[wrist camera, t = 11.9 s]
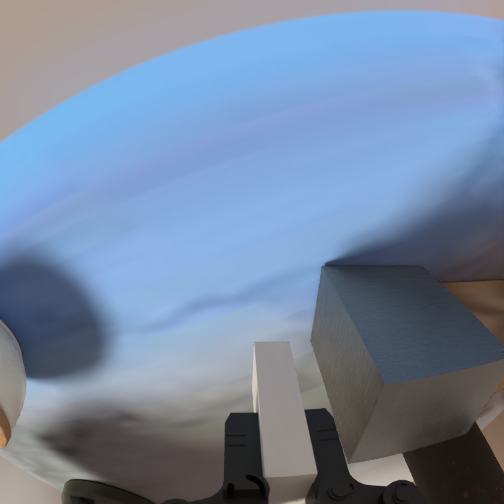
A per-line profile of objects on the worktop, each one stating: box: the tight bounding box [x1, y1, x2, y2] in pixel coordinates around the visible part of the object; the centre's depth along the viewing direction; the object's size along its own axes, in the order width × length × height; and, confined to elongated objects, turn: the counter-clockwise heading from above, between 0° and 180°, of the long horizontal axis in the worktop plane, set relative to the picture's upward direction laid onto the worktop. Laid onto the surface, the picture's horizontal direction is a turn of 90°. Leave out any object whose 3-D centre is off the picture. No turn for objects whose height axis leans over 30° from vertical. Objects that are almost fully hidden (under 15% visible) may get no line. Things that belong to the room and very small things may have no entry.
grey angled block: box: [311, 266, 504, 464], centre depth 15 cm, size 7×5×9 cm
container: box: [402, 422, 504, 504], centre depth 17 cm, size 9×9×20 cm
